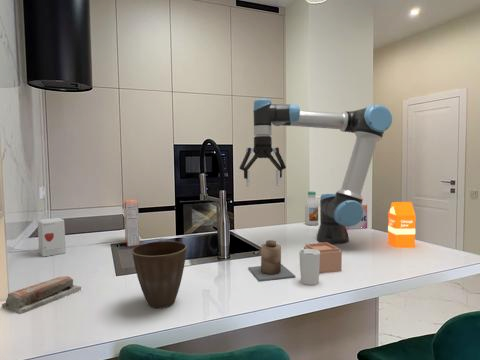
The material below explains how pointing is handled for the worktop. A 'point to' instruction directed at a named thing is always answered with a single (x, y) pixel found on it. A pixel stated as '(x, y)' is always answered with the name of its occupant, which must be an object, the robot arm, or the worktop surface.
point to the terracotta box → (327, 256)
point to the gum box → (362, 223)
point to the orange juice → (401, 225)
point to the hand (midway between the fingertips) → (263, 186)
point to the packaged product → (40, 294)
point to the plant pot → (160, 271)
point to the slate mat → (266, 277)
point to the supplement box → (51, 236)
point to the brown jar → (270, 258)
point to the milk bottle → (311, 209)
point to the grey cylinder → (309, 266)
